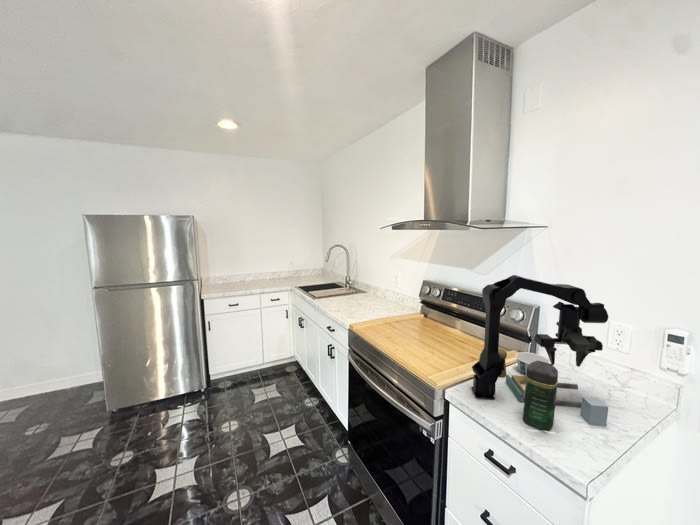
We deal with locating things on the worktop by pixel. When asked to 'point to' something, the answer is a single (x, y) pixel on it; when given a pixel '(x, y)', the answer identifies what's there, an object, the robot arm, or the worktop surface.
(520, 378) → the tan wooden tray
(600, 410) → the block
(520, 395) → the bay
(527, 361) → the food container
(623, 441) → the worktop surface
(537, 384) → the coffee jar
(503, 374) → the cork
